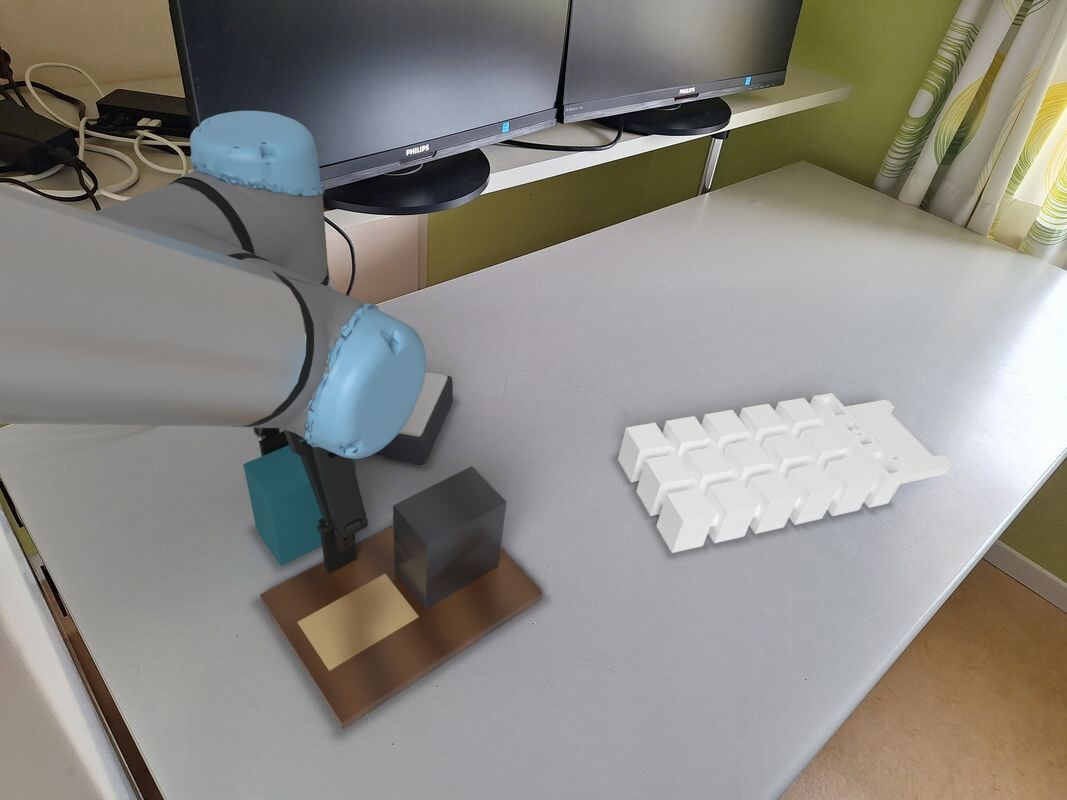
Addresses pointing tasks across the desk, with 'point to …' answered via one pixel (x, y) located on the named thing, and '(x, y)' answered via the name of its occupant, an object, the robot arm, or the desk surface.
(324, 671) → the wooden stand
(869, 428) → the white ice cube tray
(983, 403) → the desk surface
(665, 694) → the desk surface
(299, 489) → the teal block
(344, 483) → the robot arm
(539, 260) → the desk surface
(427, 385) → the calculator
